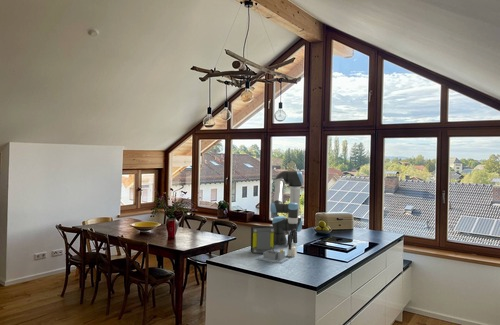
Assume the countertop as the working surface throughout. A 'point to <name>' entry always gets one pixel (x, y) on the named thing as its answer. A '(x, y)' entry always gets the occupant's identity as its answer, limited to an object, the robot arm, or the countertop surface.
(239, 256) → the countertop surface
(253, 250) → the electrical component
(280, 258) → the header board
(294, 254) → the plug
